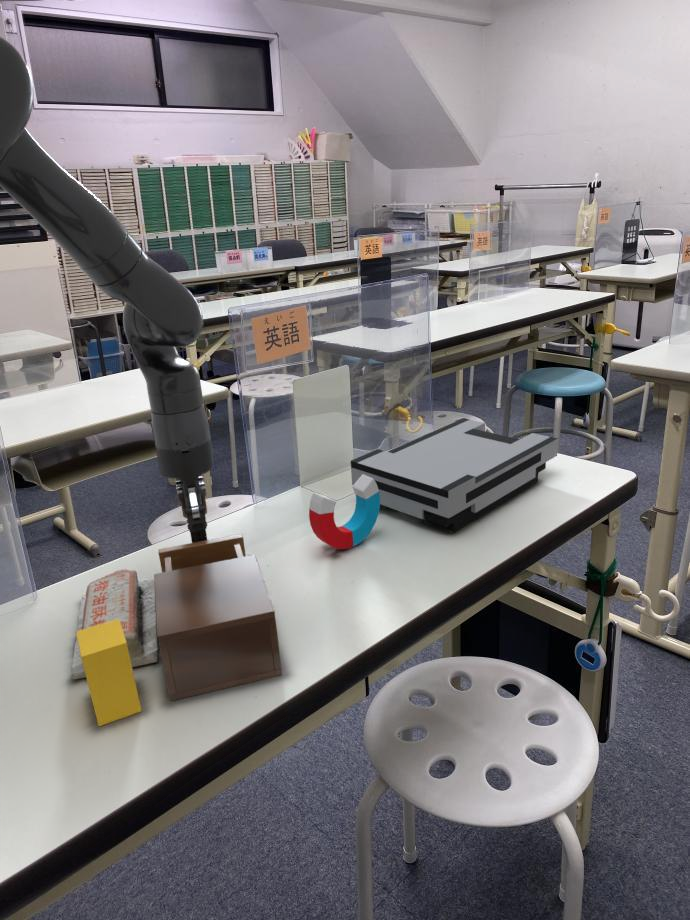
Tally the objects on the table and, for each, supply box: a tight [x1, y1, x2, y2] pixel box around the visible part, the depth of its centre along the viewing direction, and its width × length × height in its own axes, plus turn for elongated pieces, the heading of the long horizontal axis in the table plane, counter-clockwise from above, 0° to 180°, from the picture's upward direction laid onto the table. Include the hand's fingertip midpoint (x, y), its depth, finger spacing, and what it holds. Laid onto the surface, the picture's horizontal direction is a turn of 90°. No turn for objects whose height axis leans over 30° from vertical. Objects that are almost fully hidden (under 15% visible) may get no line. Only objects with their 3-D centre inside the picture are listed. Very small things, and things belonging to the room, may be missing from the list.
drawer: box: [157, 533, 247, 573], centre depth 91 cm, size 17×11×7 cm
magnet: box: [308, 474, 381, 550], centre depth 104 cm, size 12×3×10 cm, turn 128°
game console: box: [350, 417, 559, 534], centre depth 121 cm, size 21×32×8 cm, turn 134°
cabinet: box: [153, 554, 283, 702], centre depth 81 cm, size 14×13×9 cm
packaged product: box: [70, 569, 159, 680], centre depth 88 cm, size 18×5×10 cm
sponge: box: [75, 619, 142, 727], centre depth 74 cm, size 4×5×9 cm
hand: (200, 548), depth 100 cm, fingers closed
